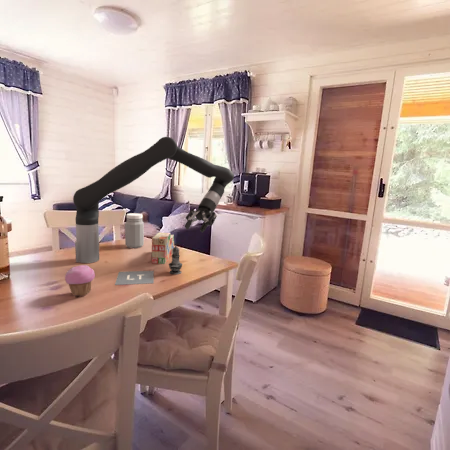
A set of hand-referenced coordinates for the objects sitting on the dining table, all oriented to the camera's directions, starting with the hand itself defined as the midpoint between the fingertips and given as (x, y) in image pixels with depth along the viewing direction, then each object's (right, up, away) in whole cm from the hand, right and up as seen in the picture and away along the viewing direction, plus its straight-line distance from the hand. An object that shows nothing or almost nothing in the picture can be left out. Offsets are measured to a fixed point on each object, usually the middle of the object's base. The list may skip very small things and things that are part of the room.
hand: (193, 229), depth 129 cm
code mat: (-22, -19, -14) cm, 32 cm away
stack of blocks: (-17, -14, +15) cm, 26 cm away
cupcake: (-35, -22, -31) cm, 52 cm away
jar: (-36, -10, +31) cm, 49 cm away
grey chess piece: (-7, -18, -6) cm, 21 cm away
